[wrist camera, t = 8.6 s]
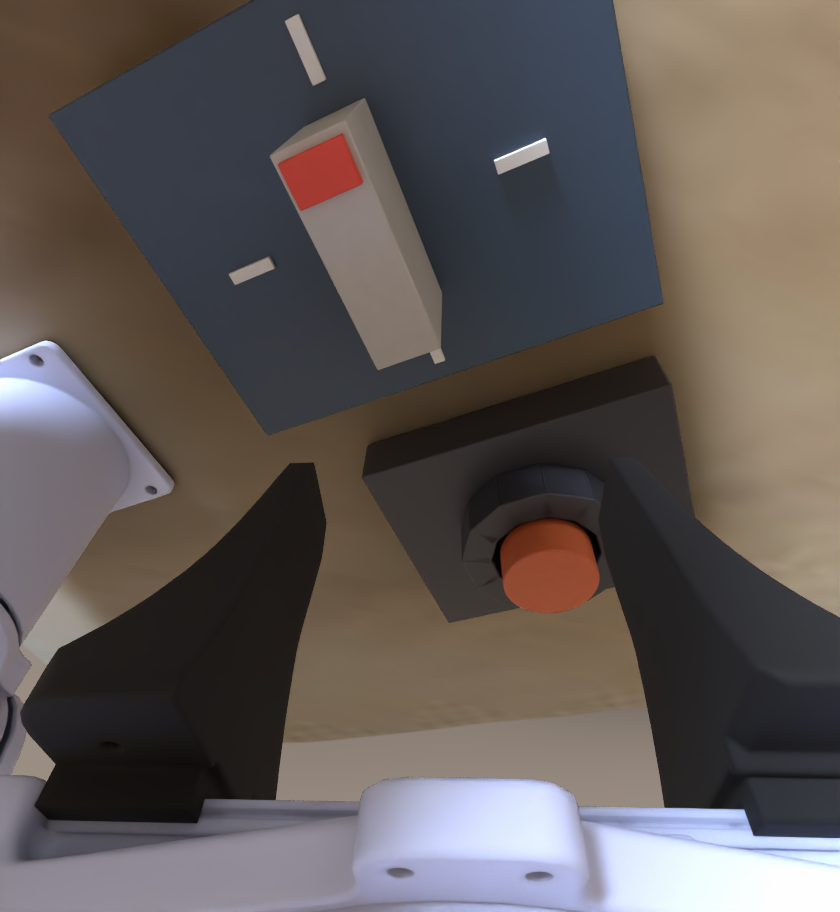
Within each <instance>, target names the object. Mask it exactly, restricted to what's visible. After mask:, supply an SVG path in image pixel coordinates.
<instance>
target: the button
mask: <svg viewBox="0 0 840 912" xmlns="http://www.w3.org/2000/svg"><path fill="white" fill-rule="evenodd" d="M500 558H501V569H502V579H503V588H504V591H505V593H506V595H507V597H508V598H509V599H510V600H511V601H512V602H513V603H514V604H516V605H517V606H519V607H521V608H523V609H526V610H529V611H533V612H538V613H557V612H563V611H567V610H570V609H573V608H575V607H577V606H579V605H581V604H583V603H584V602H586V601H587V600H588V599H590V598H591V597H592V596H593V594H594V593H595V591H596V590H597V588H598V585H599V580H600V575H599V571H598V567H597V563H596V559H595V556H594V552H593V548H592V544H591V540H590V538H589V536H588V535H587V533H586V532H585V531H584V530H583V529H582V528H581V527H579V526H578V525H576V524H574V523H572V522H570V521H567V520H563V519H557V518H542V519H538V520H534V521H530V522H526V523H523V524H521V525H519V526H518V527H516V528H515V529H513V530H512V531H511V532H510V533H509V534H508V535H507V536H506V537H505V539H504V541H503V543H502V545H501V549H500Z"/></svg>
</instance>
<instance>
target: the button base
mask: <svg viewBox="0 0 840 912" xmlns="http://www.w3.org/2000/svg"><path fill="white" fill-rule="evenodd" d="M610 457H636V458H637V459H638V460H639V461H640V462H641V463H642V464H643V466H644V467H645V468H646V469H647V470H648V471H649V472H650V473H651V474H652V475H653V476H654V477H655V478H656V479H657V480H658V481H659V482H660V483H661V484H662V485H663V486H664V487H665V489H666V490H667V491H668V492H669V493H670V494H671V495H672V496H673V497H674V498H675V499H676V500H677V501H678V502H679V503H680V504H681V505H682V506H683V507H685V508H686V509H687V510H688V511H689V512H690V513H691V514H692V515H693V516H694V517H695V515H694V510H693V504H692V498H691V492H690V487H689V481H688V475H687V469H686V464H685V458H684V452H683V446H682V441H681V435H680V429H679V423H678V417H677V412H676V406H675V400H674V394H673V389H672V385H671V383H670V381H669V379H668V378H667V376H666V374H665V373H664V371H663V369H662V367H661V366H660V364H659V362H658V361H657V359H656V357H655V356H651V357H648V358H645V359H642V360H639V361H635V362H632V363H629V364H626V365H623V366H620V367H616V368H613V369H610V370H607V371H604V372H600V373H597V374H594V375H591V376H588V377H584V378H581V379H578V380H575V381H572V382H568V383H565V384H562V385H559V386H556V387H552V388H549V389H546V390H543V391H540V392H536V393H533V394H530V395H527V396H524V397H520V398H517V399H514V400H511V401H508V402H505V403H501V404H498V405H495V406H492V407H489V408H485V409H482V410H479V411H476V412H473V413H469V414H466V415H463V416H460V417H457V418H453V419H450V420H447V421H444V422H441V423H437V424H434V425H431V426H428V427H425V428H421V429H418V430H415V431H412V432H409V433H405V434H402V435H399V436H396V437H393V438H389V439H386V440H383V441H380V442H377V443H374V444H370V445H368V446H367V451H366V457H365V462H364V468H363V473H362V479H363V480H364V482H365V484H366V485H367V487H368V489H369V490H370V492H371V494H372V495H373V497H374V499H375V500H376V502H377V504H378V505H379V507H380V509H381V510H382V512H383V514H384V515H385V517H386V519H387V520H388V522H389V524H390V525H391V527H392V529H393V530H394V532H395V534H396V535H397V537H398V539H399V540H400V542H401V544H402V545H403V547H404V549H405V550H406V552H407V554H408V555H409V557H410V559H411V560H412V562H413V564H414V565H415V567H416V569H417V570H418V572H419V574H420V575H421V577H422V579H423V580H424V582H425V584H426V585H427V587H428V589H429V591H430V592H431V594H432V596H433V597H434V599H435V601H436V602H437V604H438V606H439V607H440V609H441V611H442V612H443V614H444V616H445V617H446V619H447V621H448V622H449V623H451V622H456V621H460V620H465V619H470V618H474V617H479V616H483V615H488V614H493V613H497V612H502V611H507V610H511V609H516V608H520V607H519V606H517V605H516V604H514V603H513V602H512V601H511V600H510V599H509V598H508V597H507V595H506V593H505V591H504V588H503V579H502V569H501V558H500V549H501V545H502V543H503V541H504V539H505V537H506V536H507V535H508V534H509V533H510V532H511V531H512V530H513V529H515V528H516V527H518V526H519V525H521V524H523V523H526V522H530V521H534V520H538V519H542V518H557V519H563V520H567V521H570V522H572V523H574V524H576V525H578V526H579V527H581V528H582V529H583V530H584V531H585V532H586V533H587V535H588V536H589V538H590V540H591V544H592V548H593V552H594V556H595V559H596V563H597V567H598V571H599V575H600V580H599V585H598V588H597V590H596V591H595V593H594V594H593V596H592V597H591V598H593V597H594V596H596V595H598V594H599V593H601V592H602V591H604V590H605V589H608V588H612V587H615V586H614V583H613V580H612V577H611V574H610V571H609V568H608V564H607V561H606V558H605V554H604V549H603V544H602V539H601V533H600V527H599V522H598V518H599V512H600V507H601V501H602V495H603V490H604V484H605V479H606V473H607V468H608V462H609V458H610ZM591 598H590V599H591ZM590 599H588V600H590ZM588 600H587V601H588Z"/></svg>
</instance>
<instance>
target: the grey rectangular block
mask: <svg viewBox="0 0 840 912" xmlns="http://www.w3.org/2000/svg"><path fill="white" fill-rule="evenodd" d="M270 158H271V160H272V162H273V164H274V166H275V168H276V170H277V172H278V174H279V176H280V178H281V180H282V182H283V184H284V186H285V188H286V190H287V192H288V194H289V196H290V198H291V200H292V202H293V204H294V206H295V208H296V210H297V212H298V214H299V216H300V218H301V220H302V222H303V224H304V226H305V228H306V230H307V232H308V234H309V235H310V237H311V239H312V241H313V243H314V245H315V247H316V249H317V251H318V253H319V255H320V257H321V259H322V261H323V263H324V265H325V267H326V269H327V271H328V273H329V275H330V277H331V279H332V281H333V283H334V285H335V287H336V289H337V291H338V293H339V295H340V297H341V299H342V301H343V303H344V305H345V307H346V309H347V311H348V313H349V315H350V317H351V319H352V321H353V323H354V325H355V327H356V329H357V331H358V333H359V335H360V337H361V339H362V341H363V343H364V345H365V346H366V348H367V350H368V352H369V354H370V356H371V358H372V360H373V362H374V364H375V366H376V368H377V370H380V369H383V368H386V367H389V366H391V365H394V364H397V363H400V362H403V361H406V360H409V359H412V358H415V357H418V356H420V355H423V354H426V353H429V352H432V351H435V350H438V349H440V348H441V321H442V291H441V289H440V286H439V284H438V281H437V279H436V276H435V274H434V271H433V268H432V266H431V263H430V261H429V258H428V256H427V253H426V251H425V248H424V246H423V243H422V241H421V238H420V236H419V233H418V231H417V228H416V226H415V223H414V220H413V218H412V215H411V213H410V210H409V208H408V205H407V203H406V200H405V198H404V195H403V193H402V190H401V188H400V185H399V183H398V180H397V177H396V175H395V172H394V170H393V167H392V165H391V162H390V160H389V157H388V155H387V152H386V150H385V147H384V145H383V142H382V140H381V137H380V135H379V132H378V129H377V127H376V124H375V122H374V119H373V117H372V114H371V112H370V109H369V107H368V104H367V102H366V99H365V98H363V99H361V100H359V101H357V102H355V103H352V104H350V105H348V106H346V107H344V108H342V109H340V110H338V111H336V112H334V113H332V114H330V115H328V116H325V117H323V118H321V119H319V120H317V121H315V122H313V123H311V124H309V125H307V126H305V127H303V128H302V129H301V130H300V131H298V132H297V133H296V134H295V135H293V136H292V137H291V138H290V139H289V140H287V141H286V142H285V143H284V144H283V145H281V146H280V147H279V148H278V149H277V150H275V151H274V152H273V153H272V154H271V155H270Z"/></svg>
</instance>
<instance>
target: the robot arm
mask: <svg viewBox="0 0 840 912" xmlns="http://www.w3.org/2000/svg"><path fill="white" fill-rule="evenodd" d="M36 355H37V356H39V357H40V358H42V360H43V361H44V362H43V361H40V360H39V359H37V357H36ZM151 486H153V487H155V488H156V489H155V488H152V487H151ZM173 487H174V481H173V480H172V478H171V477H170V476H169V475H168V474H167V472H166V471H165V470H164V469H163V468H162V467H161V465H160V464H159V463H158V462H157V461H156V459H155V458H154V457H153V456H152V455H151V454H150V452H149V451H148V450H147V449H146V448H145V446H144V445H143V444H142V443H141V442H140V441H139V439H138V438H137V437H136V436H135V435H134V433H133V432H132V431H131V430H130V429H129V428H128V426H127V425H126V424H125V423H124V422H123V420H122V419H121V418H120V417H119V416H118V415H117V413H116V412H115V411H114V410H113V409H112V408H111V406H110V405H109V404H108V403H107V402H106V400H105V399H104V398H103V397H102V396H101V395H100V393H99V392H98V391H97V390H96V389H95V387H94V386H93V385H92V384H91V383H90V382H89V380H88V379H87V378H86V377H85V376H84V374H83V373H82V372H81V371H80V370H79V369H78V367H77V366H76V365H75V364H74V363H73V361H72V360H71V359H70V358H69V357H68V356H67V354H66V353H65V352H64V351H63V350H62V349H61V348H60V347H59V346H58V345H57V344H55V343H53V342H51V341H42V342H39V343H37V344H35V345H32V346H30V347H28V348H26V349H23V350H21V351H19V352H16V353H14V354H12V355H9V356H7V357H5V358H2V359H0V912H840V617H838V616H836V615H834V614H832V613H830V612H828V611H827V610H825V609H823V608H821V607H819V606H817V605H816V604H814V603H812V602H811V601H809V600H807V599H805V598H804V597H802V596H800V595H799V594H797V593H795V592H794V591H792V590H791V589H789V588H787V587H786V586H784V585H783V584H781V583H779V582H778V581H776V580H775V579H773V578H772V577H770V576H769V575H767V574H766V573H764V572H763V571H761V570H760V569H758V568H757V567H756V566H754V565H753V564H752V563H750V562H749V561H747V560H746V559H745V558H743V557H742V556H741V555H739V554H738V553H737V552H735V551H734V550H733V549H731V548H730V547H729V546H728V545H726V544H725V543H724V542H723V541H721V540H720V539H719V538H718V537H717V536H716V535H714V534H713V533H712V532H711V531H710V530H708V529H707V528H706V527H705V526H704V525H703V524H702V523H700V522H699V521H698V520H697V519H696V518H695V517H694V516H693V515H692V514H691V513H690V512H689V511H688V510H687V509H686V508H685V507H683V506H682V505H681V504H680V503H679V502H678V501H677V500H676V499H675V498H674V497H673V496H672V495H671V494H670V493H669V492H668V491H667V490H666V489H665V487H664V486H663V485H662V484H661V483H660V482H659V481H658V480H657V479H656V478H655V477H654V476H653V475H652V474H651V473H650V472H649V471H648V470H647V469H646V468H645V467H644V466H643V464H642V463H641V462H640V461H639V460H638V459H637V458H636V457H610V458H609V462H608V468H607V473H606V479H605V484H604V490H603V495H602V501H601V507H600V512H599V518H598V522H599V527H600V533H601V539H602V544H603V549H604V554H605V558H606V561H607V564H608V568H609V571H610V574H611V577H612V580H613V583H614V586H615V589H616V592H617V595H618V598H619V601H620V604H621V607H622V610H623V613H624V616H625V619H626V622H627V625H628V628H629V631H630V634H631V637H632V641H633V644H634V648H635V652H636V656H637V660H638V665H639V670H640V674H641V679H642V684H643V688H644V693H645V698H646V703H647V708H648V713H649V718H650V724H651V729H652V734H653V740H654V745H655V751H656V757H657V763H658V768H659V774H660V780H661V786H662V793H663V800H664V807H665V808H645V807H596V806H594V807H593V806H578V804H577V802H576V799H575V796H574V795H573V794H572V793H571V792H569V791H568V790H566V789H564V788H562V787H560V786H558V785H556V784H554V783H552V782H545V781H539V780H531V779H504V778H444V777H402V778H394V779H384V780H382V781H380V782H378V783H376V784H374V785H372V786H370V787H368V788H367V789H366V790H364V792H363V794H362V796H361V799H360V802H341V801H338V802H337V801H290V800H276V791H277V783H278V774H279V765H280V757H281V749H282V742H283V735H284V727H285V720H286V713H287V707H288V700H289V694H290V687H291V681H292V675H293V669H294V663H295V657H296V652H297V647H298V643H299V639H300V634H301V631H302V627H303V624H304V620H305V617H306V613H307V609H308V606H309V602H310V599H311V595H312V592H313V588H314V585H315V581H316V577H317V574H318V570H319V566H320V562H321V559H322V552H323V546H324V539H325V531H326V518H325V513H324V508H323V503H322V499H321V494H320V489H319V484H318V479H317V475H316V470H315V465H314V463H290V464H289V465H288V466H287V467H286V468H285V469H284V470H283V472H282V473H281V474H280V475H279V476H278V477H277V479H276V480H275V481H274V482H273V483H272V485H271V486H270V487H269V488H268V489H267V490H266V492H265V493H264V494H263V495H262V496H261V497H260V499H259V500H258V501H257V502H256V503H255V504H254V505H253V506H252V508H251V509H250V510H249V511H248V512H247V513H246V514H245V515H244V516H243V518H242V519H241V520H240V521H239V522H238V523H237V524H236V525H235V526H234V527H233V528H232V529H231V530H230V531H229V532H228V533H227V534H226V535H225V536H224V537H223V538H222V539H221V540H220V541H219V542H218V543H217V544H216V545H215V546H214V547H213V548H211V549H210V550H209V551H208V552H207V553H206V554H205V555H204V556H203V557H201V558H200V559H199V560H198V561H197V562H195V563H194V564H193V565H192V566H191V567H189V568H188V569H187V570H186V571H184V572H183V573H182V574H180V575H179V576H178V577H176V578H175V579H173V580H172V581H171V582H169V583H168V584H167V585H165V586H164V587H162V588H161V589H160V590H158V591H157V592H156V593H154V594H153V595H151V596H150V597H148V598H147V599H145V600H144V601H142V602H141V603H139V604H138V605H136V606H135V607H133V608H131V609H130V610H128V611H126V612H125V613H123V614H121V615H120V616H118V617H117V618H115V619H113V620H111V621H110V622H108V623H106V624H104V625H103V626H101V627H99V628H97V629H95V630H93V631H91V632H89V633H88V634H86V635H84V636H82V637H80V638H78V639H76V640H74V641H72V642H71V643H69V644H67V645H65V646H63V647H61V648H59V649H58V650H57V652H56V653H55V655H54V656H53V658H52V659H51V661H50V662H49V664H48V665H47V667H46V668H45V670H44V672H43V673H42V675H41V677H40V679H39V680H38V682H37V684H36V686H35V687H34V689H33V690H32V692H31V694H30V695H29V697H28V699H27V700H26V702H25V704H23V702H22V701H21V699H20V698H19V697H18V696H17V695H15V694H14V693H15V691H16V690H17V688H18V686H19V685H20V683H21V682H22V680H23V678H24V677H25V675H26V674H27V672H28V670H29V669H30V667H31V666H32V664H31V662H30V661H29V660H28V659H27V658H26V657H24V655H23V654H22V652H21V651H20V649H19V647H20V646H21V644H22V643H23V641H24V640H25V638H26V637H27V635H28V634H29V632H30V631H31V629H32V628H33V626H34V625H35V623H36V622H37V620H38V619H39V618H40V616H41V615H42V613H43V612H44V610H45V609H46V607H47V606H48V604H49V603H50V601H51V600H52V598H53V597H54V595H55V594H56V592H57V591H58V589H59V588H60V586H61V585H62V583H63V582H64V580H65V579H66V577H67V576H68V574H69V573H70V571H71V570H72V568H73V567H74V565H75V564H76V562H77V561H78V559H79V558H80V556H81V555H82V553H83V552H84V550H85V549H86V547H87V546H88V544H89V543H90V541H91V540H92V538H93V537H94V535H95V534H96V532H97V531H98V529H99V528H100V526H101V525H102V523H103V522H104V521H105V519H106V518H107V516H108V515H109V513H111V512H114V511H117V510H120V509H123V508H126V507H130V506H133V505H136V504H139V503H142V502H145V501H148V500H151V499H155V498H158V497H161V496H164V495H167V494H169V493H171V491H172V489H173ZM26 732H28V734H29V735H30V736H31V737H32V739H33V740H34V741H35V742H36V743H37V744H38V745H39V746H40V747H41V748H42V749H43V751H44V752H45V753H46V754H47V755H48V756H49V757H50V758H51V759H52V760H53V762H54V763H55V764H56V765H55V767H54V769H53V771H52V773H51V775H50V777H49V779H48V780H47V782H46V781H45V780H43V779H40V778H37V777H33V776H23V775H21V776H20V775H11V774H12V772H13V769H14V767H15V765H16V762H17V760H18V758H19V756H20V753H21V750H22V747H23V744H24V741H25V737H26Z"/></svg>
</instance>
